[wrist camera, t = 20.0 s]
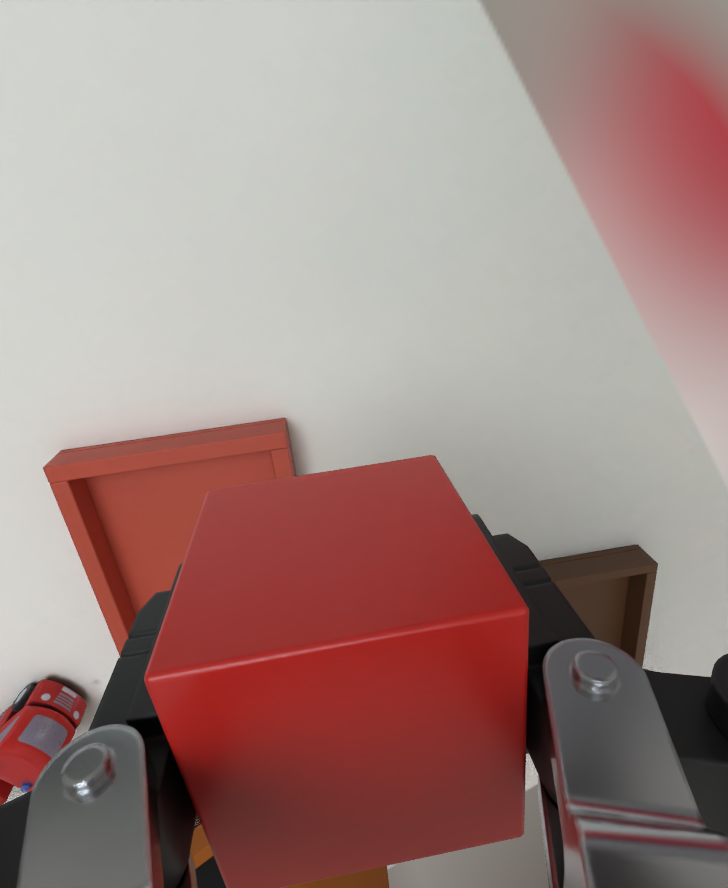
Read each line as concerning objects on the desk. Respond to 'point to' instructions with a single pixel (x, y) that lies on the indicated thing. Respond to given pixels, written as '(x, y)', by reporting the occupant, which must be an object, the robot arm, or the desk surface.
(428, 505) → the red block
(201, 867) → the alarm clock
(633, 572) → the brown tray
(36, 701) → the toy fire truck
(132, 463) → the red tray
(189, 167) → the desk surface
